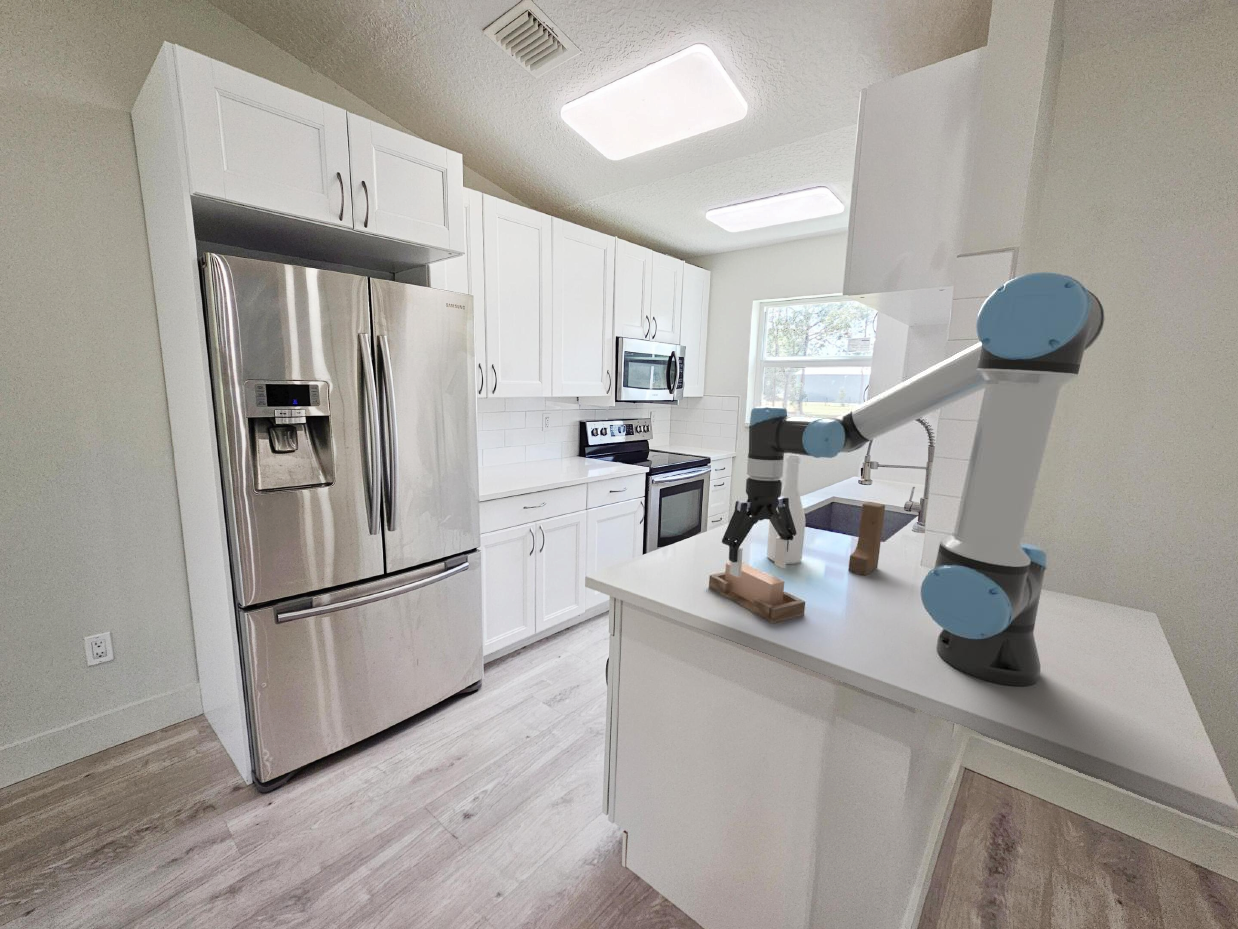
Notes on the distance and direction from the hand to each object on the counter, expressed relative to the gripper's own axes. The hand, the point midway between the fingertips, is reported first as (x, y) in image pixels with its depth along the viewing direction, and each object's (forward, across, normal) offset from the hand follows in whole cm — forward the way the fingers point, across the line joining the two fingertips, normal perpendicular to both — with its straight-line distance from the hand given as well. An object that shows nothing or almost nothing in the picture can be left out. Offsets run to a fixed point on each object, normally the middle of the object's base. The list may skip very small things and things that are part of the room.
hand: (758, 570), depth 113 cm
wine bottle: (+7, -28, -18) cm, 34 cm away
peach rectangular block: (+7, 0, -1) cm, 7 cm away
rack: (+7, 0, -1) cm, 7 cm away
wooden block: (+8, -42, -3) cm, 43 cm away
